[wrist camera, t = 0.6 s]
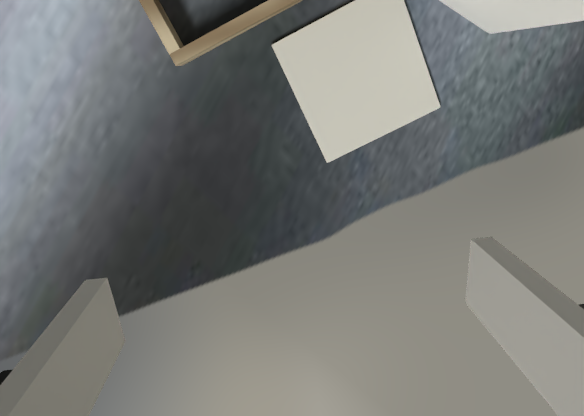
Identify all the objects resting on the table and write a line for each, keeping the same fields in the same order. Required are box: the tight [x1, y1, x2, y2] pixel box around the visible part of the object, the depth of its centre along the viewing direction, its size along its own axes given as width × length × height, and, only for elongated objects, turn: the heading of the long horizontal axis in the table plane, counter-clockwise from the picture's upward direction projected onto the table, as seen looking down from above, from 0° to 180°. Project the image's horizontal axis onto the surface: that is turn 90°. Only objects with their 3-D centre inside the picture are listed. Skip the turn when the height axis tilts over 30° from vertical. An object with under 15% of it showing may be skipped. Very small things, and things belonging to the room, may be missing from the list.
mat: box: [272, 0, 440, 163], centre depth 36 cm, size 12×12×1 cm
